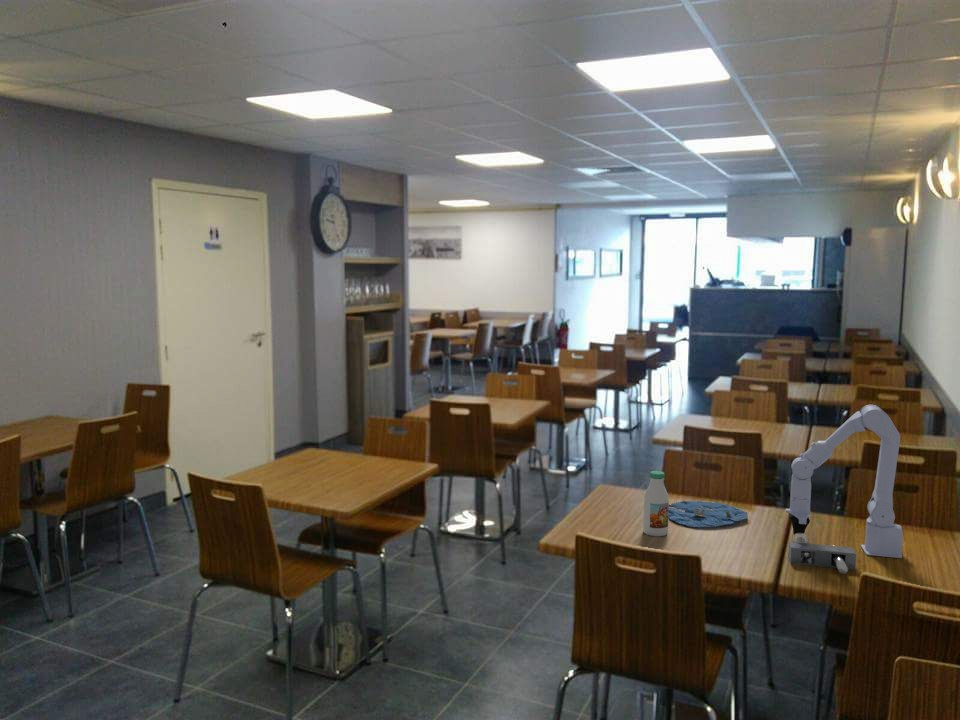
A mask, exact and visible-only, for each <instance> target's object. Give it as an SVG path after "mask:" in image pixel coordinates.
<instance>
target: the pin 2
mask: <svg viewBox="0 0 960 720" xmlns="http://www.w3.org/2000/svg"><path fill="white" fill-rule="evenodd" d="M830 546H838V545H837V544H830ZM831 559H833V560H834V562H835V564H836V566H837V568H836V569H837V571H838V572H839V574H847V573H848V571H849V569H848V568H847V566H846V564H845V562H844V560H843V558H842V555H841V554H832V557H831Z"/></svg>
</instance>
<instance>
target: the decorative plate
mask: <svg viewBox="0 0 960 720" xmlns="http://www.w3.org/2000/svg"><path fill="white" fill-rule="evenodd" d="M670 504H671V505H670ZM670 504H669V508H668V519H669V520H671V521H674V522H675V523H677V524H680V525H686V526H687V527H689V528H690V527H692V528H696V529H697V528H702V527H703V528H706V527H708V528H715V527H716V528H719V526H730V525H733V524H736V523H735V522H738V521H739V522H740V521H742V520H745V519H748V518H749V517H748V515H749V514H748V512H747V511H745V510H743V509H740V508H736V507H735V506H731V505H728V504H724V503H721V502H717V501H715V502H712V501H702V500H699V501H698V500H694V501H692V500H683V501H678V502H674V503H670ZM684 511H685V512H684Z"/></svg>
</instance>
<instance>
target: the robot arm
mask: <svg viewBox="0 0 960 720" xmlns="http://www.w3.org/2000/svg"><path fill="white" fill-rule="evenodd" d="M865 428H866V429H868V430H869V431H872V432H873V433H875V434H876V435H877V436H878V437H879V438H880V445H879V446H880V447H879V453H878V461H877V467H876V476H875V481H874V482H875V483H874V489H873V491H872V495H871V498H870V500H869V501H868V503H867V507H866V508H867V512H868V513H869V516H868V517H867V518H866V522H865V538H864V540H865V542H864V544H861V545H860V547H861V548H862V550H863V551H864V553H865V555H867V556H876V557H886V558H896V559H902V558H903V556H902V552H903V551H902V550H903V537H904V535H903V534H904V533H903V528H902V526H901V525H900V524H897V523H894V521H895V519H896V516H895V515H896V514H895V511H894V510H893V507H894V506H893V505H894V499H893V497H894V496H893V493H894V487H895V479H896V473H897V463H898V457H899V452H900V451H899V450H900V444H901V443H900V442H901V433H900V431H898V429H897V427H896V426H895V423H894V422H893V421H892V418H891V417H890V416H889V415H888V414H887V413H886V412H885V411H884V410H883V409H882V408H881V407H879V406H878V405H875V404H866V405H864V406H863V407H862V408H860V410H857V411H856V412H855V413H853V414H852V415H851V416H850V417H849V418H848V419H847V420H845V422H844V423H843V424H841V425H840V426H839V427H838V428H837V429H836V430H835V431H834V432H833V433H831V434H830V436H828V438H826V439H825V440H817V441H816V442H815V441H813V442H812V443H810V445H811V446H810V447H809V448H808V449H807V450H806V451H804V452H803V453H800V454H798V455H799V457H796V458H794V459H793V461H792V462H791V465H790V469H791V472H792V475H791V481H790V497H789V498H790V499H789V508H785V512H786V513H788V514H789V513H790V514H789V515H788V517H789V519H790V522H791V525H792V533H793V536H794V535H795V534H796V533H799V532H801V533H804V534H805V531H806V530H807V527H808V525H809V524H810V522H811V520H810V516H811V495H812V482H811V481H812V480H811V477H812V476H813V474H814V470H815V469H818V468H820V467H821V466H822V464H824V463H825V462H826V461H828V460H829V459H830V458H831V457H832V456H833V455H834V449H835V448H836V447H837V446H839V445H840V444H842V443H843V441H846V439H848V438H849V437H850V436H852V435H853V434H854V433H861V432H866V429H865Z"/></svg>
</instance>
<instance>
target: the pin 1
mask: <svg viewBox="0 0 960 720" xmlns="http://www.w3.org/2000/svg"><path fill="white" fill-rule="evenodd" d="M809 541H810V540H809V538H808V535H807V534H805V532H804V533H801V532H799V533H796V534H795V535H794V534H793V536H792V542H797V543H808V544H810V542H809ZM801 556H802V557H803V558H805V559H810V558H811V556H812V552H809V551H801Z"/></svg>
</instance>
